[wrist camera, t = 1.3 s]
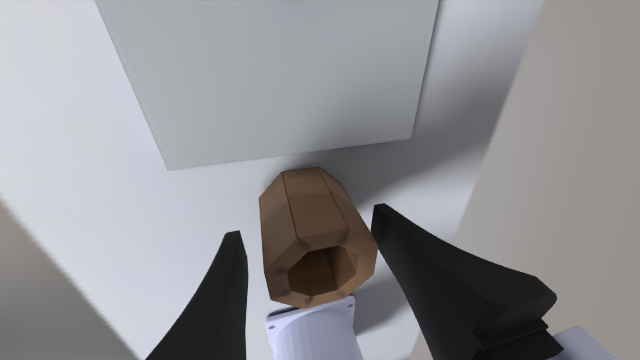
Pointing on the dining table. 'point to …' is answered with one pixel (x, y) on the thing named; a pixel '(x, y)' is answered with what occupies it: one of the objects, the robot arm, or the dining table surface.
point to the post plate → (271, 73)
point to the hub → (313, 240)
